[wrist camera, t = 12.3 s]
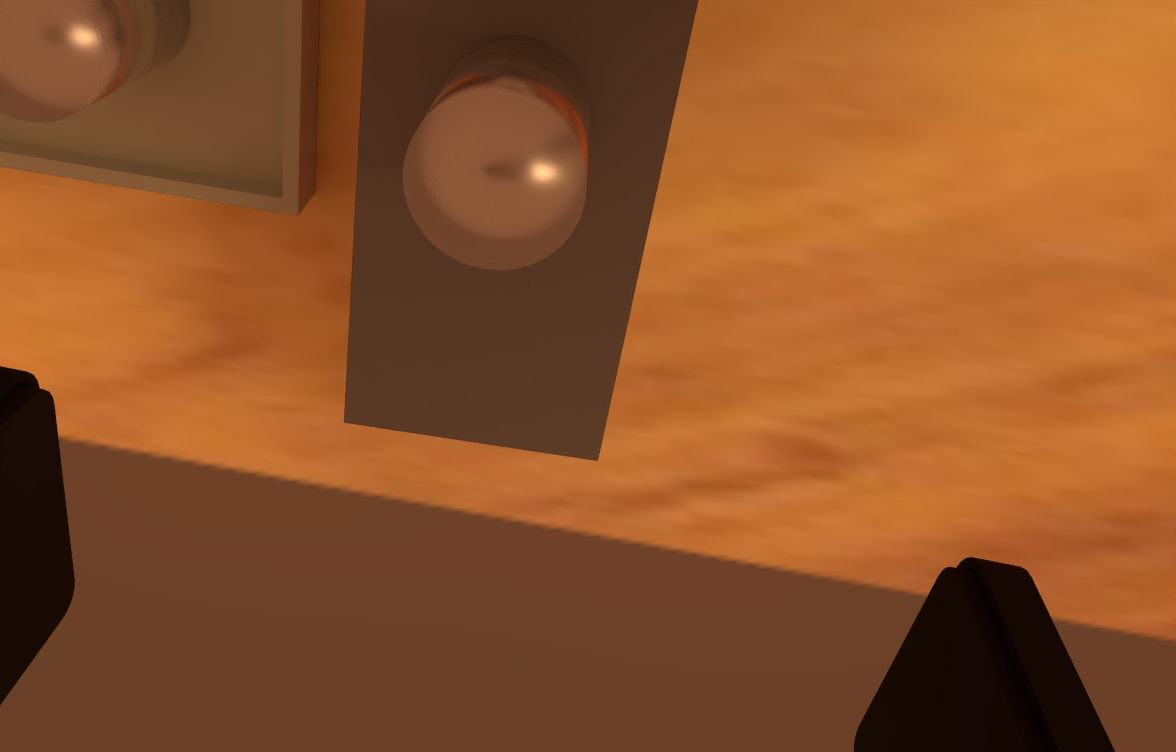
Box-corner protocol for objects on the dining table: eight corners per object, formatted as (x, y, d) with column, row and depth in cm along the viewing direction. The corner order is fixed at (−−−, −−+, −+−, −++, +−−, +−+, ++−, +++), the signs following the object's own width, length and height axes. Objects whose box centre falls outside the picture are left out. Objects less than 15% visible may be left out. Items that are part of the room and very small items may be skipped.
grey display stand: (428, -391, 25) (388, -438, 20) (744, -324, 25) (775, -354, 21) (377, 345, 36) (344, 422, 31) (598, 379, 36) (597, 460, 32)
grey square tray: (-75, -247, 27) (-122, -252, 25) (324, -169, 27) (305, -168, 26) (-17, 139, 32) (-53, 157, 30) (313, 194, 33) (298, 215, 31)
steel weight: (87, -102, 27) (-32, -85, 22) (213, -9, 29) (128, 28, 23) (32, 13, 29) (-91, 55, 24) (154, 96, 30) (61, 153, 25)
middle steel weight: (502, 1, 25) (475, 52, 19) (620, 103, 26) (624, 175, 21) (414, 120, 26) (366, 195, 21) (529, 210, 27) (511, 302, 22)
